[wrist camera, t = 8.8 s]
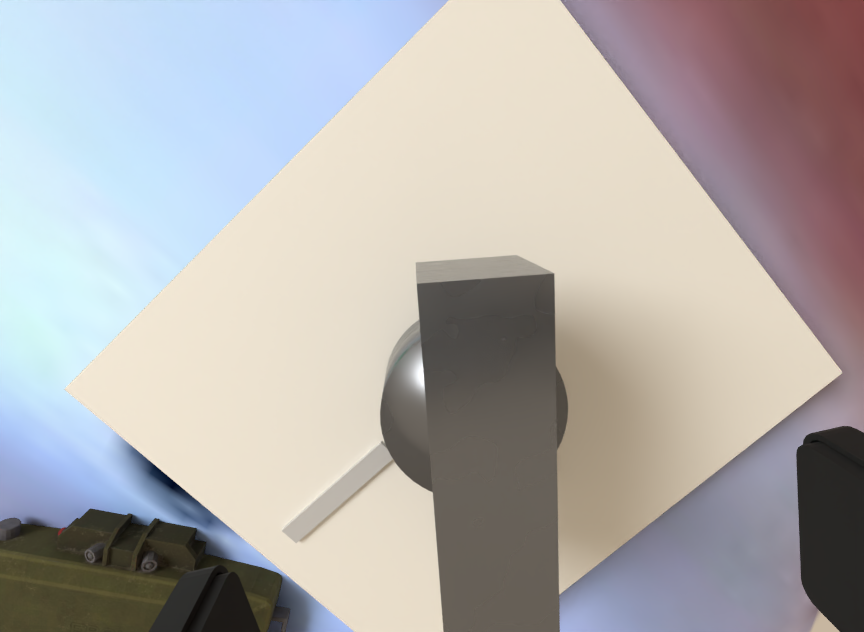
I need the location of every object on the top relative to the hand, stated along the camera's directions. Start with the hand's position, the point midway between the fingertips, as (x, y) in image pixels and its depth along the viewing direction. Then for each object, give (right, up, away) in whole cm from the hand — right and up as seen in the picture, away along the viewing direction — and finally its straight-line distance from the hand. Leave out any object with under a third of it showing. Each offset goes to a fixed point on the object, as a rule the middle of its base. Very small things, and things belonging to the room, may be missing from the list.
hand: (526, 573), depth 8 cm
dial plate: (0, +2, +12) cm, 12 cm away
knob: (0, 0, +11) cm, 11 cm away
